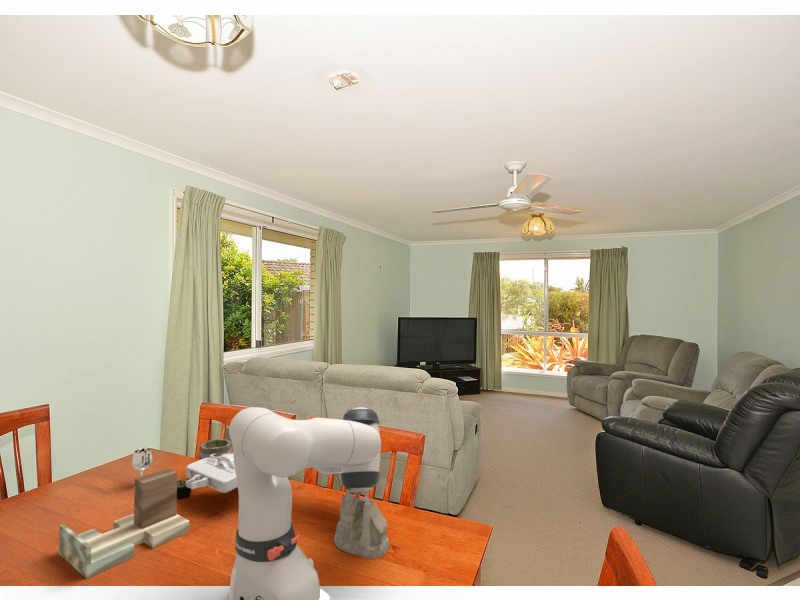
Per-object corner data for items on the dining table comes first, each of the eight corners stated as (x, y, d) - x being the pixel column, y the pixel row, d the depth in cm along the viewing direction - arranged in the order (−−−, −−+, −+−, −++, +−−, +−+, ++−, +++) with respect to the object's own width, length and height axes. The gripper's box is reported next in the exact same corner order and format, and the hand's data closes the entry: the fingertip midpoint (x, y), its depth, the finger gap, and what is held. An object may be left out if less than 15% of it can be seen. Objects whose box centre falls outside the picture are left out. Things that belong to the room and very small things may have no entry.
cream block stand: (189, 531, 116) (189, 506, 116) (86, 578, 96) (87, 547, 96) (158, 514, 125) (159, 490, 125) (58, 553, 105) (59, 525, 105)
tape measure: (190, 498, 135) (191, 486, 135) (166, 500, 133) (167, 488, 133) (194, 489, 142) (194, 477, 142) (171, 491, 140) (171, 480, 140)
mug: (231, 481, 148) (232, 447, 148) (197, 486, 144) (198, 450, 144) (231, 465, 162) (232, 433, 162) (200, 468, 158) (201, 436, 158)
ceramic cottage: (374, 564, 104) (377, 501, 104) (321, 543, 112) (324, 485, 112) (405, 536, 117) (407, 481, 118) (356, 519, 125) (358, 468, 126)
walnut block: (176, 515, 119) (177, 472, 119) (142, 529, 111) (143, 483, 111) (167, 510, 121) (168, 468, 121) (133, 523, 114) (134, 479, 114)
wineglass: (127, 488, 141) (128, 452, 141) (142, 481, 146) (143, 446, 146) (140, 491, 139) (141, 454, 139) (155, 484, 144) (156, 449, 144)
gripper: (251, 486, 131) (210, 506, 119) (211, 470, 142) (169, 487, 130) (251, 466, 130) (209, 484, 119) (211, 452, 141) (169, 466, 130)
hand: (188, 485), depth 124 cm, fingers closed
